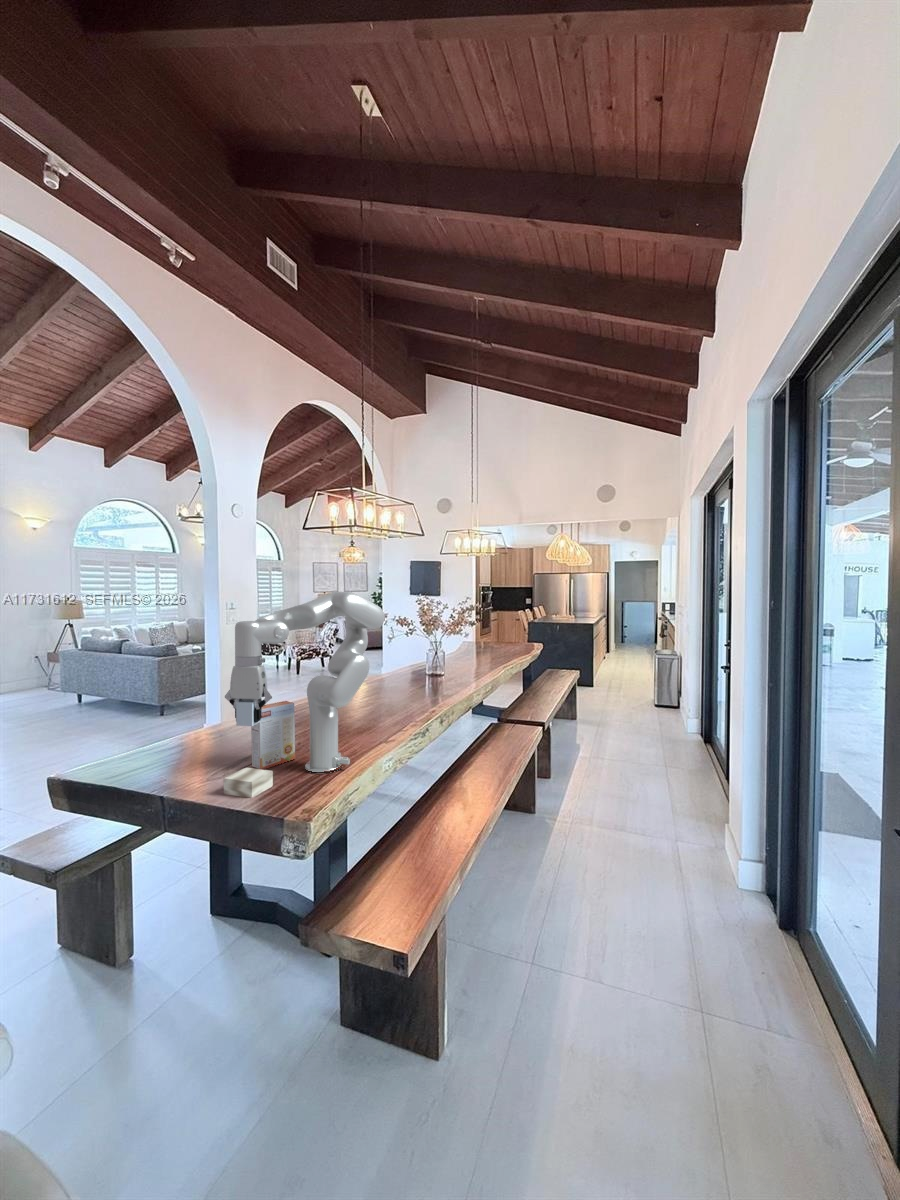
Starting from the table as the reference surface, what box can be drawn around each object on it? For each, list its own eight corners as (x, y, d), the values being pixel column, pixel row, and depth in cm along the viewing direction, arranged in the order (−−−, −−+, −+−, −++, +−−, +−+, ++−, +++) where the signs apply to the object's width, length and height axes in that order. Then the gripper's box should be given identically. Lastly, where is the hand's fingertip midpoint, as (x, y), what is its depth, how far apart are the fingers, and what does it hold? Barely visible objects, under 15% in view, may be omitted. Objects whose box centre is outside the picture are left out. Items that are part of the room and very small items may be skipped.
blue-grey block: (259, 722, 166) (259, 699, 165) (252, 726, 161) (252, 702, 160) (244, 721, 166) (244, 699, 166) (236, 725, 161) (236, 702, 161)
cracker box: (285, 757, 195) (285, 700, 195) (295, 760, 192) (295, 702, 191) (250, 766, 185) (250, 706, 184) (260, 770, 181) (259, 709, 180)
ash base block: (272, 786, 167) (272, 770, 167) (251, 798, 158) (251, 782, 158) (246, 783, 170) (245, 767, 170) (223, 794, 161) (223, 778, 161)
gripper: (280, 660, 166) (280, 719, 166) (228, 659, 168) (228, 717, 168) (269, 664, 158) (269, 725, 159) (215, 662, 160) (215, 723, 161)
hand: (248, 720), depth 163 cm, fingers closed on blue-grey block, 5 cm apart
